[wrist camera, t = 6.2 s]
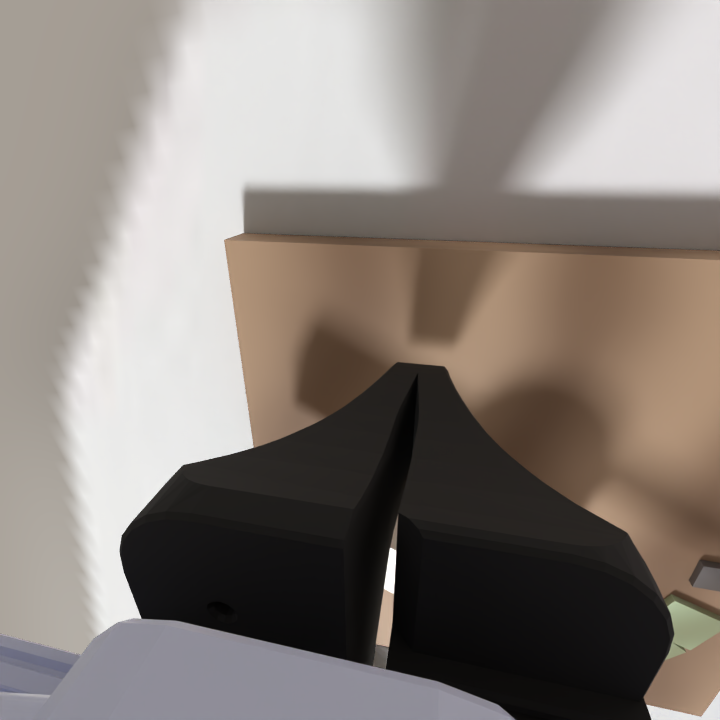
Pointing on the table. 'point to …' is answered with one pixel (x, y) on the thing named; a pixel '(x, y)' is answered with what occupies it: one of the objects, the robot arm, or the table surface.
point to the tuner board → (522, 382)
